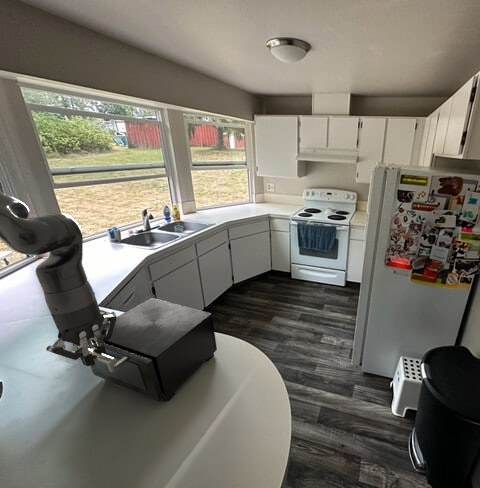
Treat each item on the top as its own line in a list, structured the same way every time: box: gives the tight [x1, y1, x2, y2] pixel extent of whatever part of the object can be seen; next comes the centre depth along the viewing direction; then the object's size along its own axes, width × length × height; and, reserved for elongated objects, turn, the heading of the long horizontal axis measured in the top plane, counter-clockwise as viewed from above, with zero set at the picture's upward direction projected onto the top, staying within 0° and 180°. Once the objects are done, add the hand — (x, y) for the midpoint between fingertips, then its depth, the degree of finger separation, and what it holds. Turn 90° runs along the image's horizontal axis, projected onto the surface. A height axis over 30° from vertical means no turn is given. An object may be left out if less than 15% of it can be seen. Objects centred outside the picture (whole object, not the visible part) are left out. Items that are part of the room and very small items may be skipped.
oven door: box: [71, 339, 163, 402], centre depth 66 cm, size 6×26×16 cm, turn 72°
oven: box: [100, 297, 218, 402], centre depth 79 cm, size 20×26×17 cm
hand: (96, 361), depth 62 cm, fingers closed on oven door
